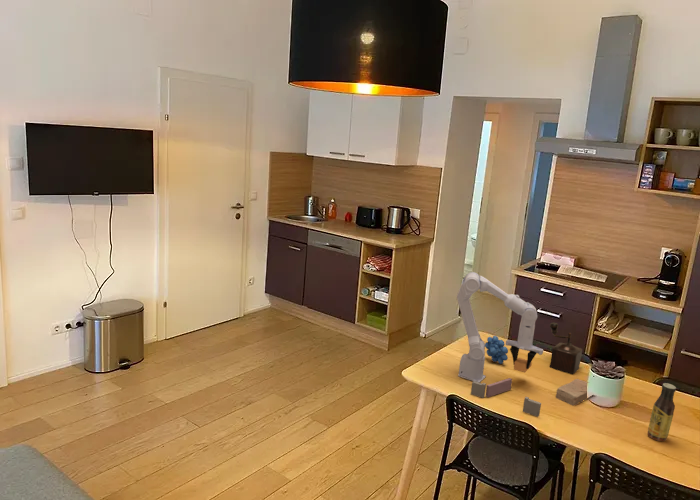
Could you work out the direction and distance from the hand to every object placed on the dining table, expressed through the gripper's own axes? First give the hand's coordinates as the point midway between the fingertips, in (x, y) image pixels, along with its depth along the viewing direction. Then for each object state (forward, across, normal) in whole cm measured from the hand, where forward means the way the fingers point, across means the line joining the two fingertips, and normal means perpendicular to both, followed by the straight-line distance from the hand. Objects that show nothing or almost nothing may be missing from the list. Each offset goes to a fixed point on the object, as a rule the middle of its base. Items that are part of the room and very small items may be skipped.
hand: (521, 366), depth 221 cm
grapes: (+8, -16, +15) cm, 23 cm away
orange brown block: (+2, 0, +2) cm, 3 cm away
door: (+8, -4, -13) cm, 16 cm away
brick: (+9, +21, +6) cm, 23 cm away
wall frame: (+8, +1, -21) cm, 22 cm away
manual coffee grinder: (+8, +8, +33) cm, 35 cm away
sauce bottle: (+8, +51, -7) cm, 52 cm away
